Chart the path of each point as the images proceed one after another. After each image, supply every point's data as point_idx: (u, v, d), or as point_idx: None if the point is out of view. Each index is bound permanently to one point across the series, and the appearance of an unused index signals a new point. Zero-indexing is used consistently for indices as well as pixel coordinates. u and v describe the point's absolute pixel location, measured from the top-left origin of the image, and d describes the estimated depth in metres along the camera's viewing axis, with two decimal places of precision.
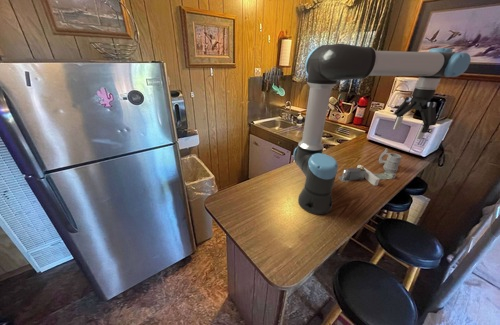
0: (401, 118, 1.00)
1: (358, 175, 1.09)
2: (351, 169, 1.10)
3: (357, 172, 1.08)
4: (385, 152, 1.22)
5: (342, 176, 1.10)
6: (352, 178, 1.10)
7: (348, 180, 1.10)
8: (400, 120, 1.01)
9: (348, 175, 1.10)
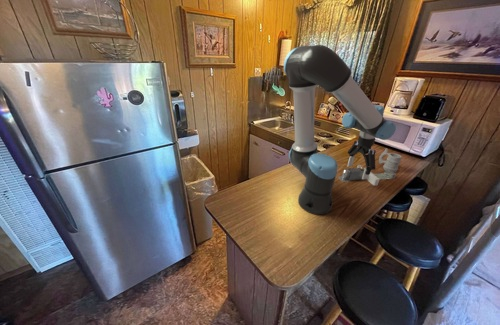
0: (353, 157, 1.13)
1: (358, 175, 1.09)
2: (351, 169, 1.10)
3: (357, 172, 1.08)
4: (385, 152, 1.22)
5: (342, 176, 1.10)
6: (352, 178, 1.10)
7: (348, 180, 1.10)
8: (352, 159, 1.14)
9: (348, 175, 1.10)
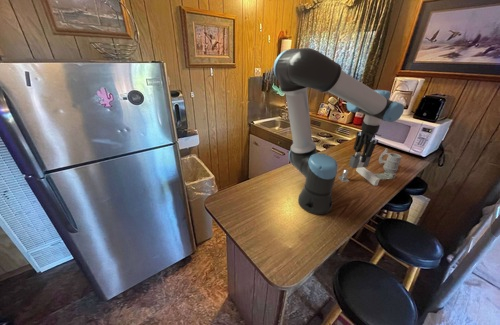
0: (359, 153, 1.07)
1: None
2: (355, 156, 1.06)
3: None
4: (385, 152, 1.22)
5: (342, 176, 1.10)
6: (356, 165, 1.06)
7: (348, 180, 1.10)
8: None
9: (352, 162, 1.06)
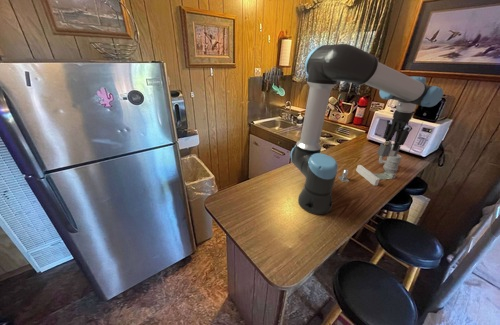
0: None
1: None
2: None
3: None
4: None
5: (342, 176, 1.10)
6: None
7: (348, 180, 1.10)
8: None
9: None
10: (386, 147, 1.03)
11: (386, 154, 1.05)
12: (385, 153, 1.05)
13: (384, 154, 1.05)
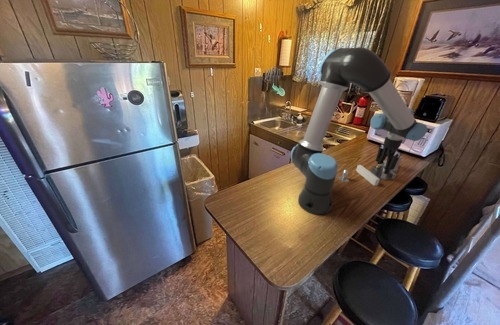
0: None
1: None
2: None
3: None
4: None
5: (342, 176, 1.10)
6: None
7: (348, 180, 1.10)
8: None
9: None
10: (377, 170, 1.10)
11: (378, 176, 1.12)
12: (377, 175, 1.11)
13: (376, 176, 1.12)
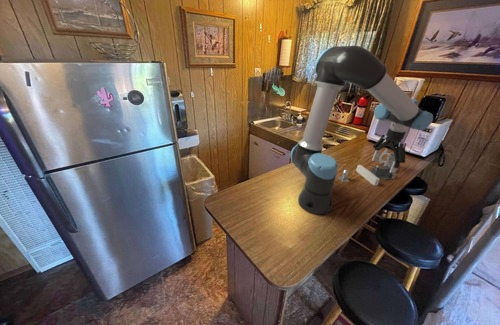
0: None
1: None
2: (387, 167, 1.11)
3: None
4: (385, 152, 1.22)
5: (342, 176, 1.10)
6: None
7: (348, 180, 1.10)
8: None
9: None
10: (377, 170, 1.10)
11: (378, 176, 1.12)
12: (377, 175, 1.11)
13: (376, 176, 1.12)
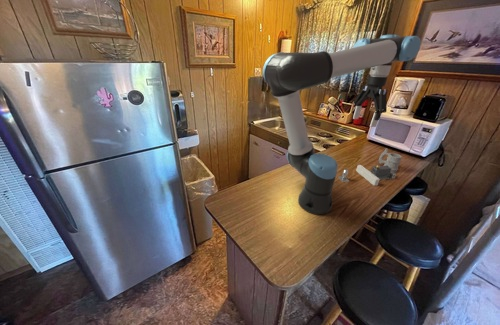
0: None
1: None
2: (387, 167, 1.11)
3: None
4: (385, 152, 1.22)
5: (342, 176, 1.10)
6: None
7: (348, 180, 1.10)
8: None
9: None
10: (377, 170, 1.10)
11: (378, 176, 1.12)
12: (377, 175, 1.11)
13: (376, 176, 1.12)
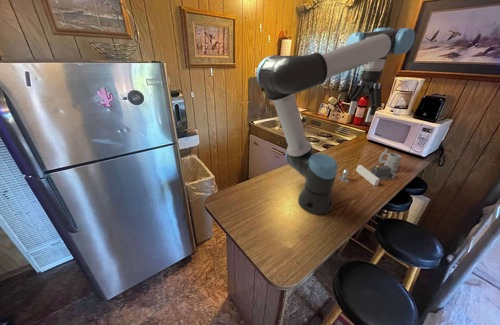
0: None
1: None
2: (387, 167, 1.11)
3: None
4: (385, 152, 1.22)
5: (342, 176, 1.10)
6: None
7: (348, 180, 1.10)
8: None
9: None
10: (377, 170, 1.10)
11: (378, 176, 1.12)
12: (377, 175, 1.11)
13: (376, 176, 1.12)
